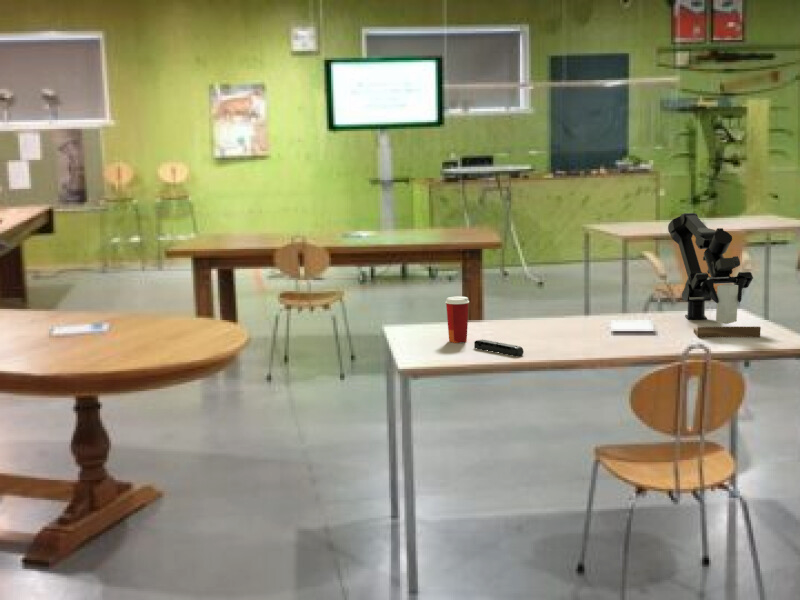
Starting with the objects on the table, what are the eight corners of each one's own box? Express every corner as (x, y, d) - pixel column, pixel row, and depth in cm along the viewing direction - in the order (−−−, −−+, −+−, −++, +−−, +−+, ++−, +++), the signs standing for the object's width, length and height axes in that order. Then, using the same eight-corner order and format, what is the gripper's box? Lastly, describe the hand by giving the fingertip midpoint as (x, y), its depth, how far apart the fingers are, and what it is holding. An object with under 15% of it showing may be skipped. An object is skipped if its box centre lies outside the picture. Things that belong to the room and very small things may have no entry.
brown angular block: (693, 332, 324) (693, 322, 323) (754, 332, 322) (754, 322, 321) (697, 337, 316) (698, 327, 315) (760, 337, 314) (760, 327, 313)
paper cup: (473, 339, 321) (473, 296, 318) (463, 344, 314) (463, 300, 312) (451, 338, 324) (451, 295, 322) (441, 342, 318) (440, 299, 316)
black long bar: (523, 356, 297) (523, 346, 296) (518, 358, 295) (518, 348, 295) (479, 348, 310) (479, 338, 309) (473, 349, 308) (473, 340, 308)
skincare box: (724, 320, 325) (726, 283, 323) (736, 321, 322) (739, 285, 320) (714, 322, 321) (717, 285, 319) (727, 324, 318) (729, 286, 316)
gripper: (695, 249, 321) (708, 288, 312) (751, 246, 323) (765, 285, 314) (685, 269, 330) (697, 308, 321) (740, 267, 332) (753, 306, 323)
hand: (728, 301), depth 319 cm, fingers closed on skincare box, 7 cm apart
